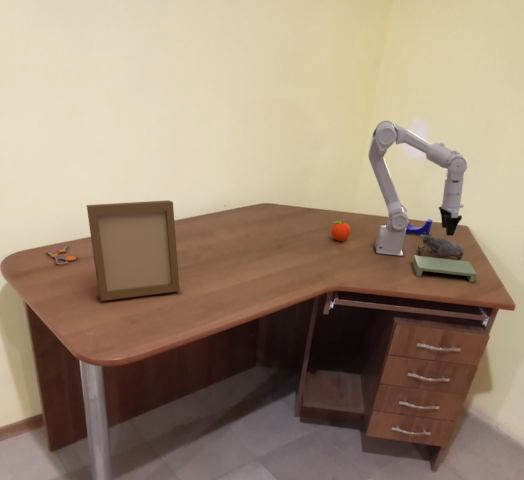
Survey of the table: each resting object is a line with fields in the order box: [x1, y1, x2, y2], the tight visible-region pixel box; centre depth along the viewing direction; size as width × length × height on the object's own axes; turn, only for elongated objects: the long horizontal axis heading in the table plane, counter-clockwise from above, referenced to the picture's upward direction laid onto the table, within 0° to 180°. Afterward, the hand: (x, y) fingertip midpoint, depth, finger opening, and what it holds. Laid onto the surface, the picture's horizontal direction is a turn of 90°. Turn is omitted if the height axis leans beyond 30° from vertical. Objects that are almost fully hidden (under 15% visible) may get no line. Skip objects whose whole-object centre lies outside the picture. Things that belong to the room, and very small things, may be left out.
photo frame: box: [86, 199, 181, 302], centre depth 143 cm, size 15×22×25 cm
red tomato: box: [328, 220, 351, 242], centre depth 191 cm, size 8×7×7 cm
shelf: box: [411, 254, 478, 283], centre depth 175 cm, size 19×10×3 cm, turn 85°
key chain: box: [46, 245, 77, 265], centre depth 163 cm, size 13×7×1 cm, turn 31°
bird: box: [417, 234, 465, 261], centre depth 185 cm, size 5×16×8 cm, turn 79°
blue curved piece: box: [405, 218, 433, 236], centre depth 204 cm, size 12×4×6 cm, turn 58°
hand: (447, 231), depth 181 cm, fingers open, 7 cm apart
